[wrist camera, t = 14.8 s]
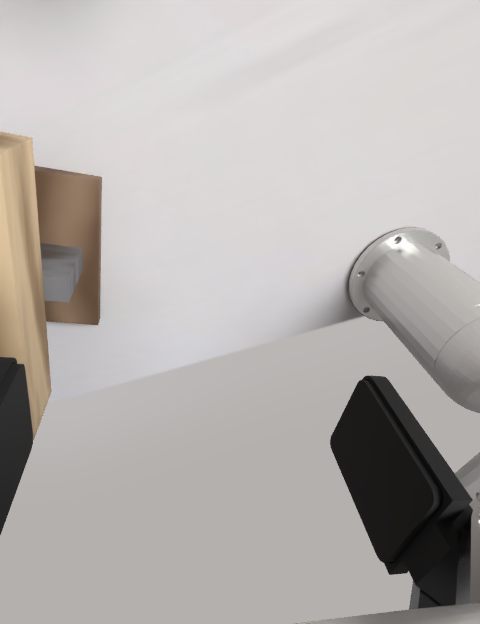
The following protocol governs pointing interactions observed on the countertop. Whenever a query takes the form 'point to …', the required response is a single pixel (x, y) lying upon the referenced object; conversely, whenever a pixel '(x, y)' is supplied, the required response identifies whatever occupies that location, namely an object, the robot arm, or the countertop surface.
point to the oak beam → (22, 272)
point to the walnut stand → (70, 244)
